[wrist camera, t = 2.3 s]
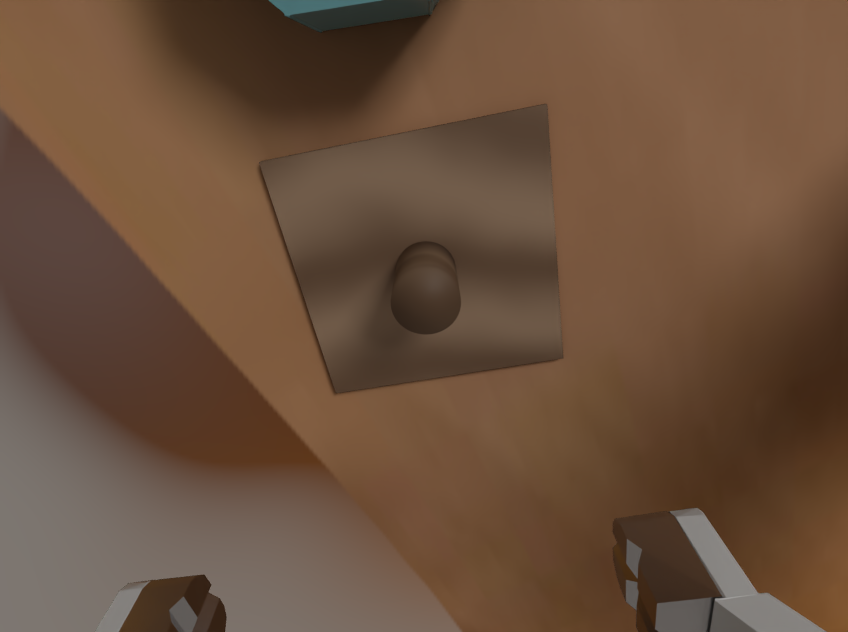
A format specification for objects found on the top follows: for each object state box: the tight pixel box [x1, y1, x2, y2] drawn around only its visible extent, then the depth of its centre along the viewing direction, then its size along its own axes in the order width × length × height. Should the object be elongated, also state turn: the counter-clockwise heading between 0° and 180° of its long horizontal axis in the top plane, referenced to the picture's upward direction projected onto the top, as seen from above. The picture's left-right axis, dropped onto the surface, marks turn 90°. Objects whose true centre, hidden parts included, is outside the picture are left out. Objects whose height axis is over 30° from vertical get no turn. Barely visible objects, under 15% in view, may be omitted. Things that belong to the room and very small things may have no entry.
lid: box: [259, 104, 563, 393], centre depth 22 cm, size 13×13×5 cm
